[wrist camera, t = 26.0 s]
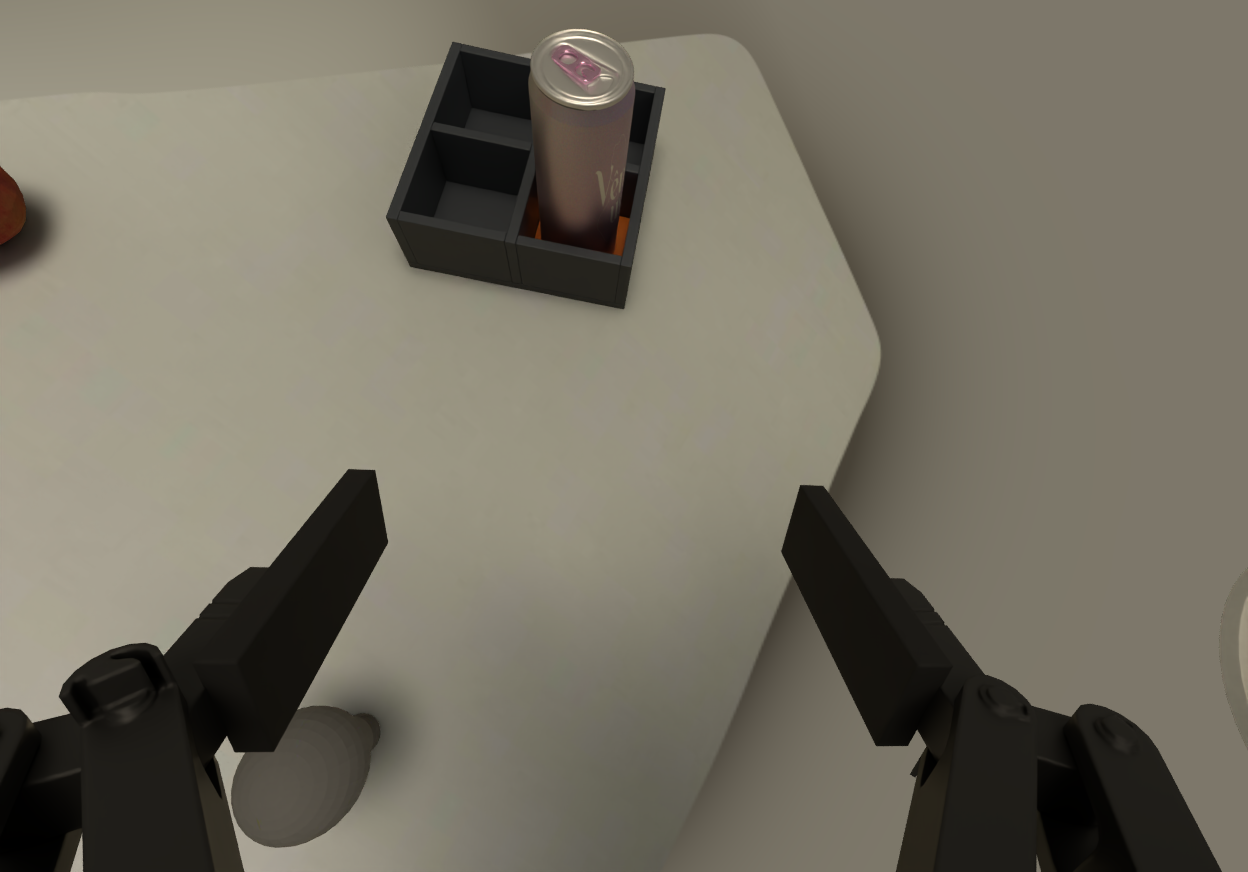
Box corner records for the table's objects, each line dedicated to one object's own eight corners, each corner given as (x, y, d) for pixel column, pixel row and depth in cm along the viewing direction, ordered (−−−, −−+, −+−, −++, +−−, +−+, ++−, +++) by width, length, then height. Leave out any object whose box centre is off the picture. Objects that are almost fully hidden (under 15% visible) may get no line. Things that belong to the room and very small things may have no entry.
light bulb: (366, 662, 32) (278, 692, 22) (431, 721, 31) (369, 778, 22) (296, 741, 30) (169, 811, 21) (363, 805, 30) (264, 907, 20)
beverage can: (575, 204, 43) (577, 9, 28) (629, 245, 42) (659, 67, 28) (526, 247, 41) (502, 62, 27) (581, 291, 40) (588, 126, 26)
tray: (655, 145, 46) (665, 88, 41) (624, 309, 41) (631, 267, 36) (466, 105, 46) (452, 41, 40) (410, 266, 40) (385, 217, 35)
